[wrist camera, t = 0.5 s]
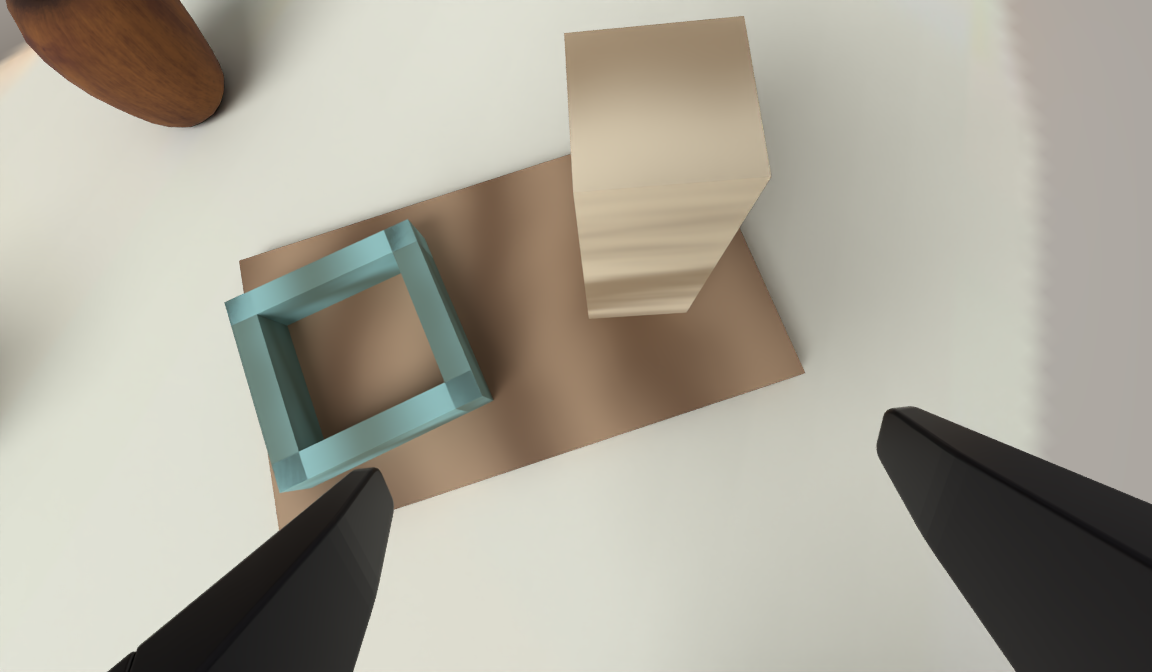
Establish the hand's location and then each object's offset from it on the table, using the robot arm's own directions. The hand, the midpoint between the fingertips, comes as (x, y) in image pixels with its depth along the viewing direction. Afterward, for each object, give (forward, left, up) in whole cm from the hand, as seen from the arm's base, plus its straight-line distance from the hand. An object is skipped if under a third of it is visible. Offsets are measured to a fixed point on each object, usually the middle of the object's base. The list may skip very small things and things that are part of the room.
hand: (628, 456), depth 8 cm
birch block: (+4, -7, -12) cm, 15 cm away
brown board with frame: (+8, -1, -13) cm, 15 cm away
